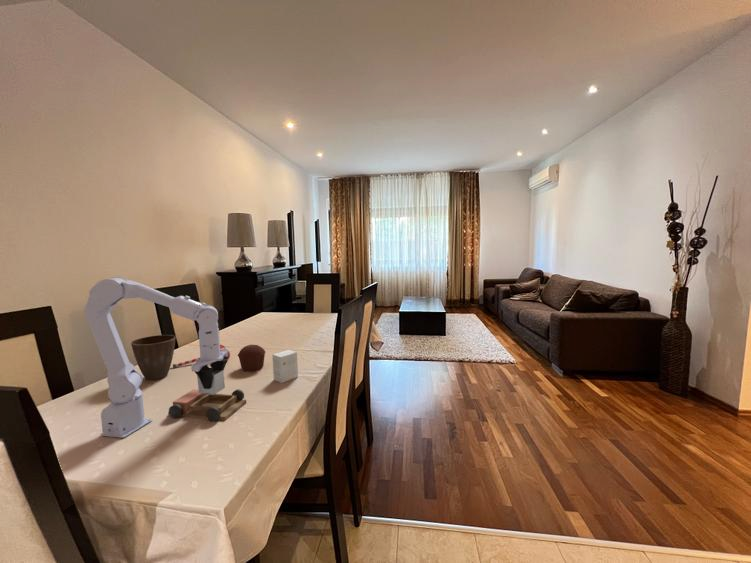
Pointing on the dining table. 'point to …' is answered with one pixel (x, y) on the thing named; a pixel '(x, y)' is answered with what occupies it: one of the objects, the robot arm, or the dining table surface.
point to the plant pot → (154, 355)
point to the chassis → (207, 405)
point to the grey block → (213, 383)
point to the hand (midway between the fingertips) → (212, 385)
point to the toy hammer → (199, 358)
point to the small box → (285, 366)
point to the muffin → (251, 358)
